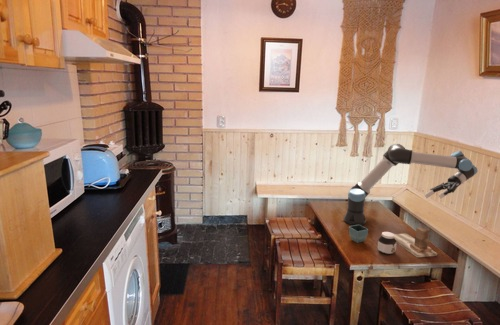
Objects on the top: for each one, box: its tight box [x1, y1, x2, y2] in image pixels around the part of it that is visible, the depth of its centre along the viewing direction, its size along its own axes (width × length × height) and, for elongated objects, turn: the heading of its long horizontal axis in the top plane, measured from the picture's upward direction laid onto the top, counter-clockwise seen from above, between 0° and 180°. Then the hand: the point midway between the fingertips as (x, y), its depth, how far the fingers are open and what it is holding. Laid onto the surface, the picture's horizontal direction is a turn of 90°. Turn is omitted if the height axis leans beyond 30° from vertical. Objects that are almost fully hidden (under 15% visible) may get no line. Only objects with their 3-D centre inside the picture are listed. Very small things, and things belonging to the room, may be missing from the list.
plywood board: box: [393, 233, 438, 258], centre depth 207 cm, size 13×28×2 cm, turn 11°
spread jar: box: [377, 231, 398, 256], centre depth 200 cm, size 12×11×12 cm
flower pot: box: [348, 225, 369, 244], centre depth 212 cm, size 9×9×9 cm
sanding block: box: [410, 226, 433, 253], centre depth 198 cm, size 9×7×13 cm
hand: (432, 196), depth 221 cm, fingers open, 13 cm apart
